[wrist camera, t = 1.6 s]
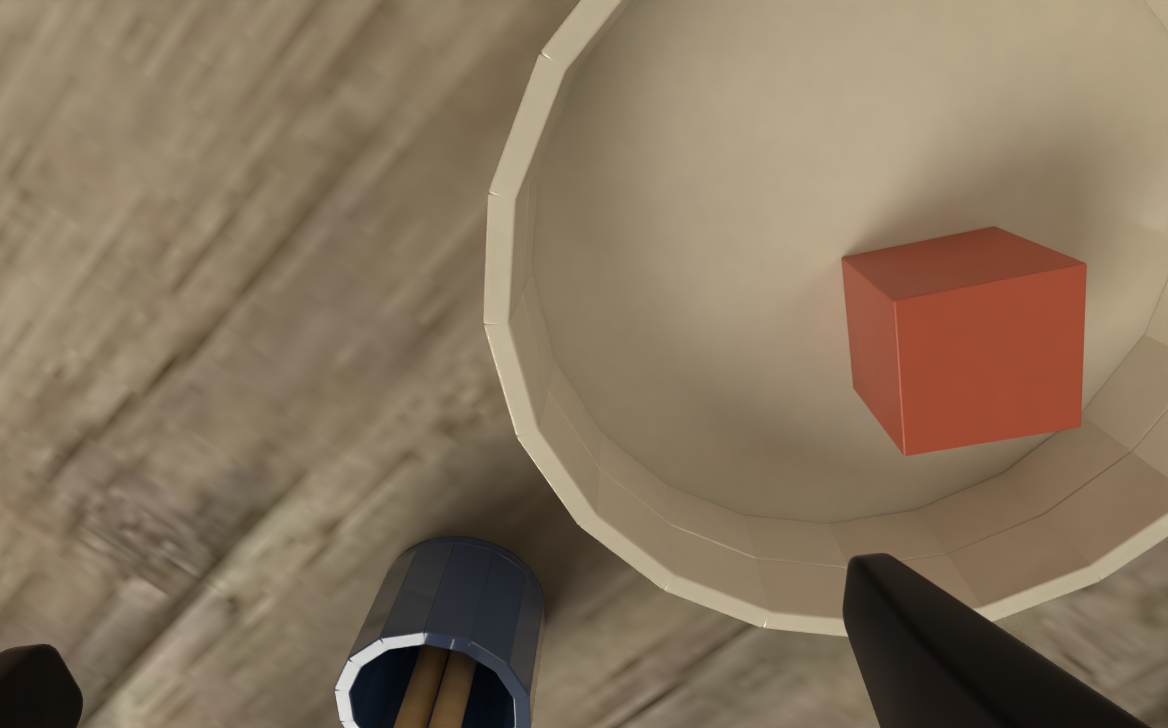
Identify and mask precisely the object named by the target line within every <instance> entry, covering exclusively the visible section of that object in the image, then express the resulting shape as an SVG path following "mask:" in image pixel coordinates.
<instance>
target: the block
mask: <svg viewBox="0 0 1168 728" xmlns="http://www.w3.org/2000/svg"><path fill="white" fill-rule="evenodd" d="M841 262H842V272H843V283H844V294H845V304H846V315H847V326H848V336H849V347H850V358H851V368H852V379H853V388H854V390H855V391H856V392H857V394H858V395H859V396H860V398H861V399H862V400H863V402H864V403H865V404H866V406H867V407H868V408H869V410H870V411H871V412H872V414H873V415H874V416H875V418H876V419H877V420H878V422H879V423H880V424H881V426H882V427H883V428H884V430H885V431H886V433H887V434H888V435H889V437H890V438H891V439H892V441H893V442H894V443H895V445H896V446H897V447H898V449H899V450H900V451H901V453H902V454H903V455H904V456H911V455H917V454H923V453H929V452H935V451H941V450H947V449H953V448H959V447H965V446H971V445H977V444H983V443H989V442H995V441H1001V440H1007V439H1013V438H1019V437H1025V436H1032V435H1038V434H1044V433H1050V432H1056V431H1062V430H1068V429H1074V428H1079V427H1081V412H1082V385H1083V358H1084V331H1085V304H1086V277H1087V264H1086V263H1085V262H1082V261H1080V260H1077V259H1075V258H1072V257H1070V256H1067V255H1065V254H1062V253H1060V252H1057V251H1055V250H1052V249H1050V248H1047V247H1045V246H1043V245H1040V244H1038V243H1035V242H1033V241H1030V240H1028V239H1025V238H1023V237H1020V236H1018V235H1015V234H1013V233H1010V232H1008V231H1005V230H1003V229H1000V228H998V227H995V226H993V227H988V228H983V229H978V230H973V231H968V232H963V233H958V234H953V235H949V236H944V237H939V238H934V239H929V240H924V241H919V242H914V243H909V244H904V245H899V246H894V247H889V248H884V249H879V250H874V251H869V252H865V253H860V254H855V255H850V256H845V257H842V259H841Z"/></svg>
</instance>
